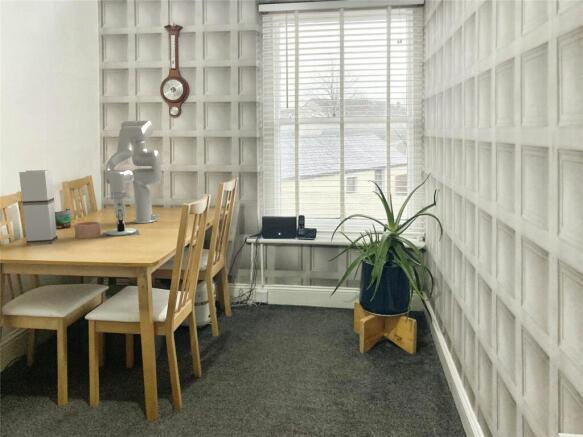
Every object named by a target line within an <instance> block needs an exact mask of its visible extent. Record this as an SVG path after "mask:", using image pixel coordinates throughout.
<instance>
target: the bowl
mask: <svg viewBox="0 0 583 437" xmlns="http://www.w3.org/2000/svg"><path fill="white" fill-rule="evenodd" d="M74 233H75V234H74V235H75V238H76V239H93V238H98V237H100V236H102V235H101V233H102V232H101V222H100V221H81V222H77V223H75V224H74Z"/></svg>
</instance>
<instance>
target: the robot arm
mask: <svg viewBox="0 0 583 437" xmlns="http://www.w3.org/2000/svg"><path fill="white" fill-rule="evenodd" d="M153 131H154V125H153V124H152V122H151V121H150V120H125V121H123V122H122V123H121V126H120V129H119V132H118V133H119V134H118V140H117V147H116V152H115V153H114V154H112V156H111V157H110V158H109V159H108V160H107V163H106V166H105V172H104V179H105V182H106V183H107V184H108V185H109V192H110V199H111V200H113V207H114V208H113V209H114V215H115V218H116V221H118V232H121V231H125V229H124V222H125V221H124V219H125V218H127V214H126V202H125V199H127V191H126V185H130V184H132V185H133V186H132V187H133V193H134V196H133V197H134V208H135V209H134V210H135V211H134V212H135V219H133V223H134V224H147V223H154V222H156V219H157V218H158V219H160V218H161V214H154V213H153V206H152V192H151V189H150V188H149V187H148V185H150V186H151V185H160V184H161V183H162V182H163V174H162V173H163V172H162V162H161V154H160V153H159V151H158V150H157V149H148V148H147V144H146V141H147V140H148V139H149V138H150V137H151V136H152V134H153ZM130 158H131V161H132V164H133V165H134V166H136V167H145V168H135V169H133V170H130V169H129V170H128V169H115V167H116V166H117V165H118V164H120V163H121V162H123V161H126V160H128V159H130ZM148 167H149V168H148ZM150 167H151V168H150ZM123 221H124V222H123ZM122 223H123V224H122Z"/></svg>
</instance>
